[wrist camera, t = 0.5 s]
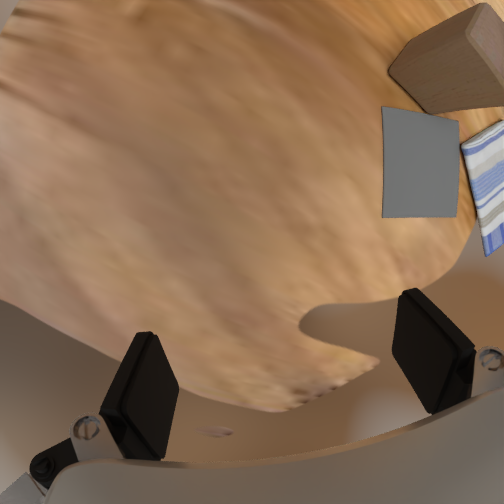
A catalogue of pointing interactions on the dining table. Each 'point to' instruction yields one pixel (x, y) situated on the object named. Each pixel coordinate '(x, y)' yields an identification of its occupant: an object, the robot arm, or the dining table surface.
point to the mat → (419, 164)
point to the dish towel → (487, 182)
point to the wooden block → (455, 63)
